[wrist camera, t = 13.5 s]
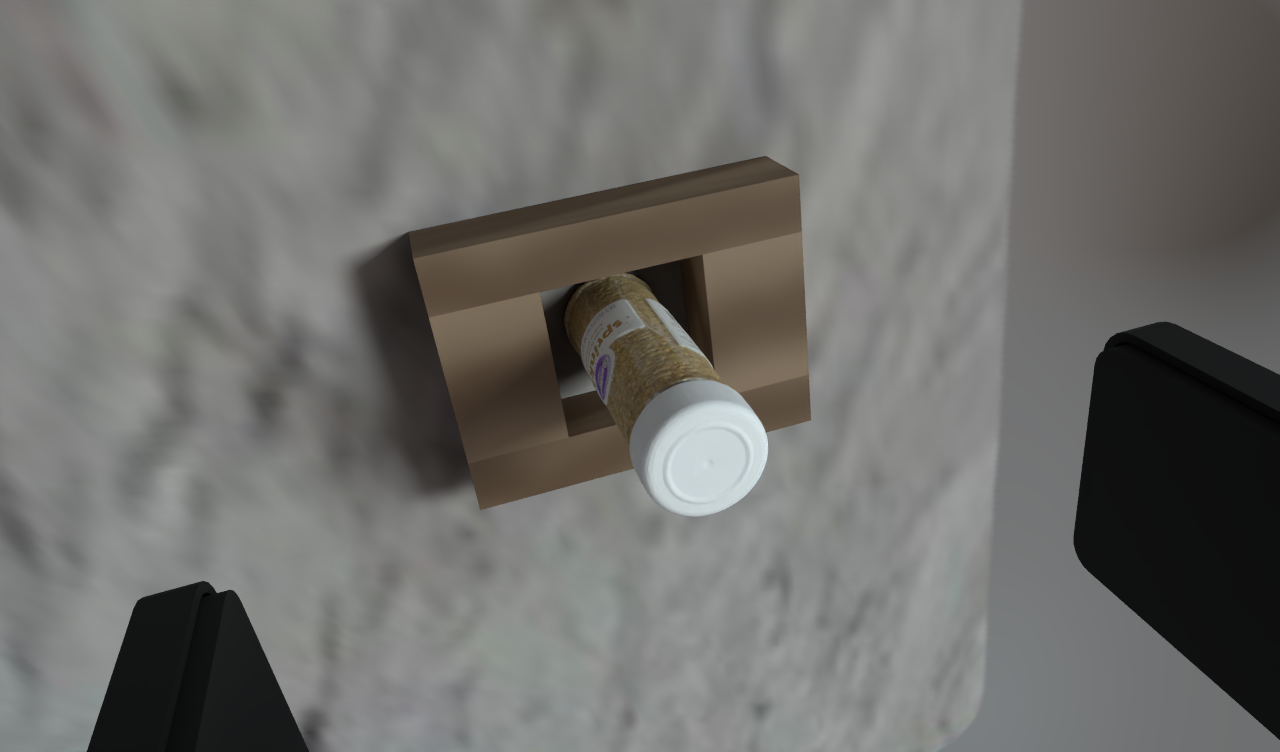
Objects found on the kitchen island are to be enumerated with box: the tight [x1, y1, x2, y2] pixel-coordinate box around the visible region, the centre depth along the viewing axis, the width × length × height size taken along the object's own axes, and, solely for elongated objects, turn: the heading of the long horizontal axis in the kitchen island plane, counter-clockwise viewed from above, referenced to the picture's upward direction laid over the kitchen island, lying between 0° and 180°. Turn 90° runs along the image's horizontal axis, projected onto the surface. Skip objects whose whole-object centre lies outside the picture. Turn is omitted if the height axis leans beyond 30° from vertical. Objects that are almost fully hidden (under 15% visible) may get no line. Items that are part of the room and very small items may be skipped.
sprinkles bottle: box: [564, 273, 768, 516], centre depth 36 cm, size 5×5×13 cm
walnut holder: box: [409, 156, 811, 510], centre depth 40 cm, size 12×16×4 cm
